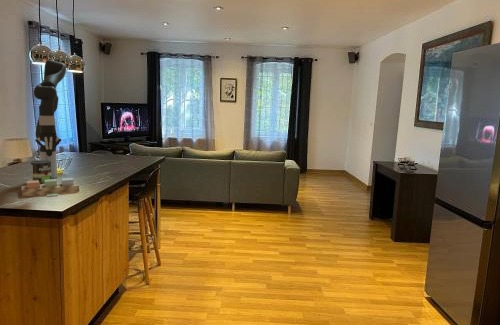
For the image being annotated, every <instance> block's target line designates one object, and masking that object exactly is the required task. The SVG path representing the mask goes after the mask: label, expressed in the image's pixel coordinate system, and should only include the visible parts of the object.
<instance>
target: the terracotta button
mask: <svg viewBox="0 0 500 325" xmlns="http://www.w3.org/2000/svg"><path fill="white" fill-rule="evenodd" d="M26 186H27V189H32V188H39V180H35V181H32V180H27V181H26Z"/></svg>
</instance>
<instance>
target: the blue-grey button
mask: <svg viewBox="0 0 500 325" xmlns="http://www.w3.org/2000/svg"><path fill="white" fill-rule="evenodd" d="M74 182H75V181H74V178H73V177H66V178H65V177H64V178H61V183H62V186H69V185H74Z"/></svg>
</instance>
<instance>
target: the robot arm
mask: <svg viewBox="0 0 500 325" xmlns="http://www.w3.org/2000/svg"><path fill="white" fill-rule="evenodd" d="M66 73H67V65H66V64H65V63H63V62H60V61H56V60H52V59H47V60H46V61H45V63H44V69H43V80H42V82H40V83H39V84H37V85H36V86H35V87H34V90H33V96H34V97H35V98H36V99H37V100H40V104H39V106H38V120H37V123H36V128H35V140H34V141H35V142H36V144H38V145H39V161H51V179H56V178H58V162H57V146H58V145H59V144H60V143H61V141H62V138H60V137H58V134H57V130H56V118H55V112H56V111H57V109H58V104H59V96H58V91H57V89H56V88H57V86H58V85H59V83H60V82H62V81H63V79H64V78H65V77H66ZM42 142H43V143H44V144H42Z"/></svg>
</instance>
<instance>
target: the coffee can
mask: <svg viewBox="0 0 500 325" xmlns="http://www.w3.org/2000/svg"><path fill="white" fill-rule="evenodd" d="M30 166H31V167H30V168H31V171H30V172H31V181H35V180H39V185H41V184H45V182H44V180H49V179H52V178H51V161H40V160H35V161H34V160H33V161H31V162H30Z"/></svg>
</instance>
